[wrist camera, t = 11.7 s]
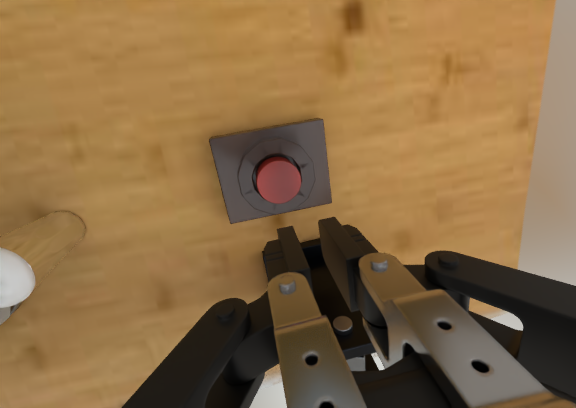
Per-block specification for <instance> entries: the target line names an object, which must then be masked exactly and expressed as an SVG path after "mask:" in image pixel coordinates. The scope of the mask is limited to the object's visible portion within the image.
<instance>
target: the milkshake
mask: <svg viewBox="0 0 576 408" xmlns="http://www.w3.org/2000/svg"><path fill="white" fill-rule="evenodd" d="M84 232H85V226H84V224H83V222H82V220H81V219H80V218H79V217H77V216H76V215H74V214H72V213H70V212H58V211H56V212H54V213H51V214H49V215H47V216H45V217H43V218H40V219H38V220H36V221H34V222H31V223H29V224H27V225H25V226H22V227H20V228H18V229H16V230H13V231H11V232H9V233H6V234H4V235H1V236H0V308H5V307H10V306H13V305H16V304H18V303H20V302H22V301H23V300H25V299H26V298H27V297H28V296H29V295H30V294H31V293H32V292H33V291H34V289H35V288H36V287H37V286H38V285H39V284H40V283H41V282H42V280H43V279H44V278H45V277H46V276H47V275H48V274H49V273H50V271H51V270H52V269H53V268H54V267H55V266H56V265H57V264H58V263H59V262H60V261H61V260H62V259H63V258H64V257H65V256H66V255H67V254H68V253H69V252H70V251H71V250H72V248H73V247H74V246H75V245H76V244H77V243H78V242H79V241H80V240H81V239H82V238H83V236H84Z"/></svg>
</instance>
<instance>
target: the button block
mask: <svg viewBox="0 0 576 408" xmlns="http://www.w3.org/2000/svg"><path fill="white" fill-rule="evenodd" d="M209 142H210V146H211V150H212V154H213V158H214V162H215V166H216V169H217V173H218V177H219V181H220V185H221V189H222V193H223V197H224V201H225V204H226V208H227V212H228V216H229V220H230V223H231V224H233V223H237V222H242V221H247V220H252V219H257V218H262V217H266V216H271V215H276V214H281V213H286V212H291V211H295V210H300V209H305V208H310V207H315V206H320V205H325V204H329V203H332V199H331V190H330V180H329V171H328V161H327V152H326V142H325V133H324V123H323V119H320V118H316V119H310V120H304V121H299V122H293V123H287V124H282V125H276V126H270V127H265V128H259V129H253V130H248V131H242V132H237V133H231V134H225V135H220V136H214V137H211V138H210V139H209ZM272 157H283V158H286V159H288V160H289V161H290V162H292V164H293V165H294V166H295V167H296V168H297V170H298V171H299V173H300V176H301V187H300V190H299V192H298V193H297V195H296V196H295V197H294V198H293V199H291V200H290V201H288V202H285V203H281V204H276V203H271V202H269V201H267V200H265V199H264V198H263V197H262V196H261V194H260V193H259V191H258V188H257V183H256V173H257V170H258V168H259V166H260V165H261V164H262V163H263V162H264V161H265V160H267V159H269V158H272Z"/></svg>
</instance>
